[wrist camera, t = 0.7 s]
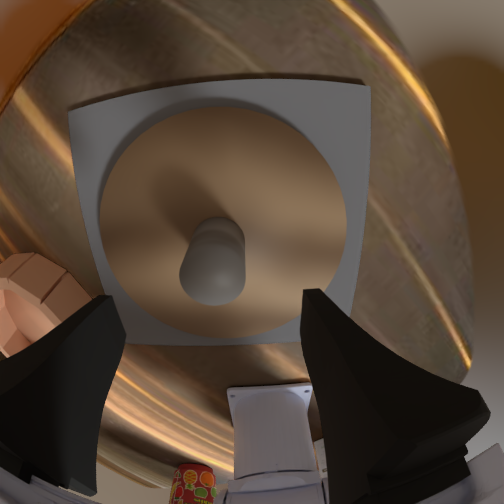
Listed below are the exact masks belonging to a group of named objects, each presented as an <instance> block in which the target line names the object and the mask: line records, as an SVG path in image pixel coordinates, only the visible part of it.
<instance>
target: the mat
mask: <svg viewBox="0 0 504 504" xmlns="http://www.w3.org/2000/svg"><path fill="white" fill-rule="evenodd" d="M206 107H234V108H242V109H248V110H252V111H255V112H259V113H262V114H266V115H268V116H270V117H273V118H275V119H277V120H279V121H281V122H283V123H285V124H287V125H288V126H290V127H291V128H293V129H294V130H296V131H297V132H299V133H300V134H301V135H303V136H304V137H305V138H306V139H307V140H308V141H309V142H310V143H312V144H313V145H314V146H315V148H316V149H317V150H318V151H319V152H320V153H321V155H322V156H323V157H324V158H325V160H326V161H327V163H328V165H329V166H330V168H331V169H332V171H333V173H334V175H335V177H336V179H337V181H338V184H339V186H340V189H341V192H342V196H343V199H344V203H345V210H346V219H347V229H346V241H345V246H344V252H343V255H342V258H341V261H340V264H339V266H338V269H337V271H336V273H335V275H334V277H333V279H332V280H331V282H330V283H329V285H328V286H327V288H326V290H325V291H324V293H325V294H326V295H327V296H328V297H329V298H330V299H331V300H332V301H333V302H334V303H335V304H336V305H337V306H338V307H339V308H340V309H341V310H342V311H343V312H344V313H345V314H346V315H347V316H348V317H350V313H351V308H352V303H353V298H354V292H355V287H356V281H357V275H358V269H359V263H360V256H361V249H362V241H363V234H364V225H365V216H366V206H367V195H368V183H369V167H370V144H371V90H370V86H364V85H357V84H349V83H340V82H330V81H317V80H300V79H244V80H226V81H213V82H203V83H194V84H186V85H179V86H172V87H166V88H160V89H154V90H149V91H144V92H139V93H134V94H130V95H125V96H121V97H117V98H113V99H109V100H105V101H102V102H98V103H94V104H91V105H88V106H84V107H81V108H78V109H75V110H72V111H69V112H68V122H69V134H70V143H71V152H72V159H73V166H74V173H75V179H76V185H77V190H78V195H79V200H80V205H81V210H82V215H83V219H84V223H85V227H86V231H87V235H88V239H89V243H90V247H91V250H92V254H93V257H94V261H95V264H96V268H97V271H98V274H99V277H100V280H101V283H102V286H103V289H104V292H105V295H112V297H113V300H114V303H115V305H116V308H117V311H118V314H119V316H120V319H121V322H122V324H123V327H124V329H125V332H126V334H127V335H126V340H125V343H126V344H144V345H173V346H221V345H251V344H270V343H284V342H297V341H301V338H300V321H301V314H300V315H299V316H297V317H296V318H294V319H293V320H291V321H289V322H287V323H286V324H284V325H282V326H280V327H277V328H275V329H273V330H270V331H267V332H264V333H260V334H257V335H252V336H247V337H239V338H212V337H204V336H199V335H194V334H190V333H187V332H184V331H181V330H178V329H175V328H173V327H171V326H169V325H167V324H165V323H163V322H161V321H159V320H158V319H156V318H154V317H153V316H151V315H150V314H149V313H147V312H146V311H145V310H143V309H142V308H141V307H140V306H139V305H138V304H136V303H135V302H134V301H133V300H132V299H131V298H130V297H129V295H128V294H127V293H126V292H125V290H124V289H123V288H122V287H121V285H120V284H119V282H118V281H117V279H116V277H115V276H114V274H113V272H112V270H111V268H110V266H109V264H108V262H107V259H106V256H105V253H104V249H103V245H102V240H101V235H100V207H101V201H102V196H103V192H104V188H105V185H106V183H107V180H108V178H109V175H110V173H111V171H112V169H113V168H114V166H115V164H116V162H117V161H118V159H119V158H120V156H121V155H122V154H123V153H124V151H125V150H126V149H127V147H128V146H129V145H130V144H131V143H132V142H133V141H134V140H136V139H137V138H138V137H139V136H140V135H141V134H142V133H144V132H145V131H146V130H148V129H149V128H151V127H152V126H154V125H155V124H157V123H159V122H161V121H163V120H165V119H167V118H169V117H171V116H173V115H176V114H179V113H183V112H186V111H189V110H194V109H200V108H206Z"/></svg>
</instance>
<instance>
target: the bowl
mask: <svg viewBox="0 0 504 504" xmlns="http://www.w3.org/2000/svg"><path fill="white" fill-rule="evenodd" d="M66 271H67V270H66V269H64V268H62V267H60V266H59V265H57V264H55V263H53V262H51V261H50V260H48V259H46V258H45V257H43V256H41V255H40V254H38V253H36V254H35V252H33V253H20V254H12V255H11V256H9V257H8V258H7V259H6V260H5V261H3V262H2V263H1V264H0V351H1V352H2V353H3V354H4V355H5V356H6V357H7V358H8V357H10V356H12V355H14V354H16V353H18V352H19V351H21V350H23V349H25V348H26V347H28V346H29V345H31V344H33V343H34V342H36V341H37V340H39V339H40V338H41V337H43V336H44V335H46V334H47V333H48V332H50V331H51V330H52V329H54V328H55V327H56V326H58V325H59V324H60V323H62V322H63V321H64V320H66V319H67V318H68V317H69V316H71V315H72V314H73V313H75V312H76V311H77V310H79V309H80V308H81V307H83V306H84V305H85V304H87V303H88V302H89V301H91V300H92V298H91V297H90V296H89V295H88V293H87V292H86V291H85V290H84V289H83V288H82V287H81V286H80V284H79V283H78V282H77V281H76V280H75V279H74V277H73V276H72V275H71V274H70V273H67V272H66Z"/></svg>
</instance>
